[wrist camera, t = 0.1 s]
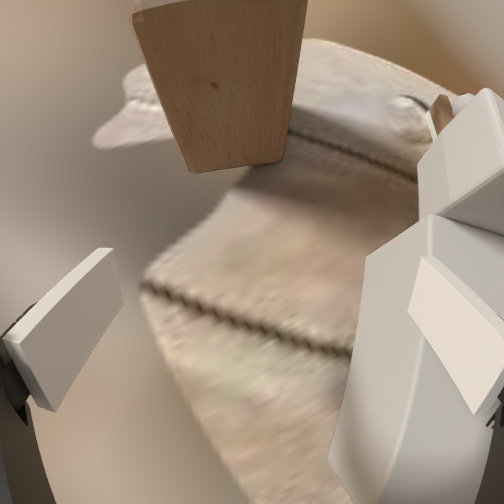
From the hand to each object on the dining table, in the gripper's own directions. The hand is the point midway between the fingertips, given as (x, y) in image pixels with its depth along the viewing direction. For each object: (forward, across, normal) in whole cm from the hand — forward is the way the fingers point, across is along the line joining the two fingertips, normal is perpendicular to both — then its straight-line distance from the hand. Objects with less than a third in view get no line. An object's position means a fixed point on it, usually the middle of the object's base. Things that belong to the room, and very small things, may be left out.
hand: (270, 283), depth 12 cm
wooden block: (+23, +4, -6) cm, 24 cm away
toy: (+12, -13, +10) cm, 21 cm away
